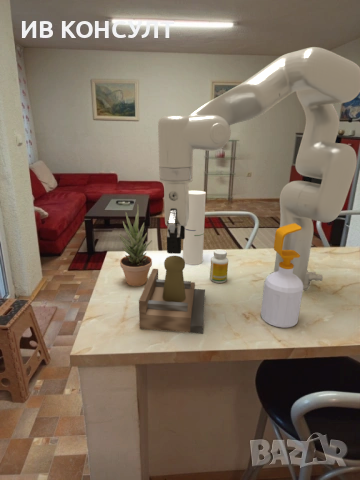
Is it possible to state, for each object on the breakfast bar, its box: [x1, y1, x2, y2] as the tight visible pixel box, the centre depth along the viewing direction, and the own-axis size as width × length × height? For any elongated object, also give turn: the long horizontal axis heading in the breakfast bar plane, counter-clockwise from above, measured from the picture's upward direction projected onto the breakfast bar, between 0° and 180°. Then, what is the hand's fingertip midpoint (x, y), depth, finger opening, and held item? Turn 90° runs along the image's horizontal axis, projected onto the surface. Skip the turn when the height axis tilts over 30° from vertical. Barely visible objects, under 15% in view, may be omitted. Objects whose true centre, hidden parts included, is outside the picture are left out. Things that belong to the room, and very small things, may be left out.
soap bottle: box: [260, 223, 304, 328], centre depth 76 cm, size 9×9×25 cm
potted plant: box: [119, 205, 153, 287], centre depth 94 cm, size 10×10×25 cm
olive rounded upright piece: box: [162, 255, 186, 302], centre depth 80 cm, size 6×6×11 cm
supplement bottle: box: [209, 249, 229, 284], centre depth 99 cm, size 5×5×10 cm
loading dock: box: [138, 268, 206, 335], centre depth 81 cm, size 15×18×8 cm
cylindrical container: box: [182, 189, 207, 266], centre depth 110 cm, size 7×7×25 cm
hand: (176, 245), depth 77 cm, fingers open, 9 cm apart
